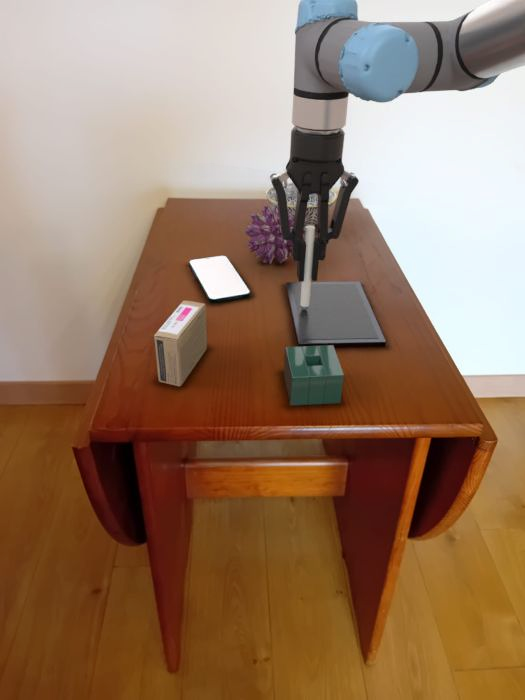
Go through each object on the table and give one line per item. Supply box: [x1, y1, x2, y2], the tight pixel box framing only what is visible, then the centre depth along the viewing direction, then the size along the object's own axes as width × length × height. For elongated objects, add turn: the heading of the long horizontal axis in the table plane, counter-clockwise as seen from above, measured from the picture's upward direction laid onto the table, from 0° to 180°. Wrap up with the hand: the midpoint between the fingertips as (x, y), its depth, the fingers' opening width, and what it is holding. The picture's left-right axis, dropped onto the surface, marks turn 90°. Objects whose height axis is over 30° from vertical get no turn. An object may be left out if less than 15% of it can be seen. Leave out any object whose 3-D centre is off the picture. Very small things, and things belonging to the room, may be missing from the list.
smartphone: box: [188, 255, 251, 304], centre depth 102 cm, size 8×1×16 cm
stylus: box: [300, 225, 316, 310], centre depth 88 cm, size 2×2×15 cm
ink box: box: [153, 300, 208, 388], centre depth 79 cm, size 10×4×8 cm, turn 162°
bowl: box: [265, 182, 338, 232], centre depth 123 cm, size 16×16×8 cm
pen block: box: [283, 345, 345, 407], centre depth 76 cm, size 7×7×5 cm
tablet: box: [285, 281, 387, 349], centre depth 93 cm, size 20×14×1 cm
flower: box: [244, 204, 305, 264], centre depth 107 cm, size 12×12×12 cm
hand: (306, 276), depth 89 cm, fingers closed on stylus, 1 cm apart
